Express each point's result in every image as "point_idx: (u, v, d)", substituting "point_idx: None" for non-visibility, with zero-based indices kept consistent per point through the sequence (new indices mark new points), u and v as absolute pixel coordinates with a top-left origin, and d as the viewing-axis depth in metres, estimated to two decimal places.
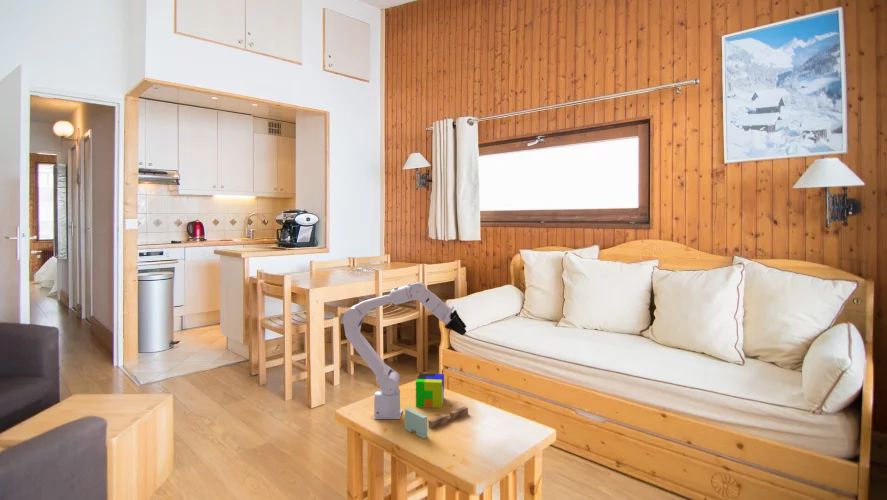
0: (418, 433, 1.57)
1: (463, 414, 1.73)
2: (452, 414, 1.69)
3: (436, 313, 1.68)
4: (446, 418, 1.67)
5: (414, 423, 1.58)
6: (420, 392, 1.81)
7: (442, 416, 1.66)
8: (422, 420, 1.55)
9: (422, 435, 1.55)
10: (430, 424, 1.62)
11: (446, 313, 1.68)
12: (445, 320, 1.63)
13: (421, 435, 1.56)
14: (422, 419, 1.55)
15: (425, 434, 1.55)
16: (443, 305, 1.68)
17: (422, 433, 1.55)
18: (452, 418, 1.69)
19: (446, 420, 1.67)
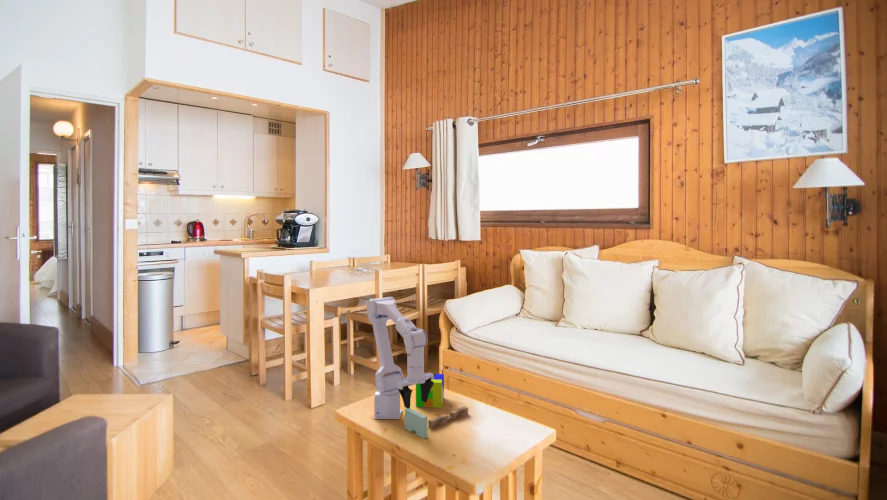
0: (418, 433, 1.57)
1: (463, 414, 1.73)
2: (452, 414, 1.69)
3: (407, 369, 1.57)
4: (446, 418, 1.67)
5: (414, 423, 1.58)
6: (420, 392, 1.81)
7: (442, 416, 1.66)
8: (422, 420, 1.55)
9: (422, 435, 1.55)
10: (430, 424, 1.62)
11: (411, 379, 1.56)
12: (398, 384, 1.53)
13: (421, 435, 1.56)
14: (422, 419, 1.55)
15: (425, 434, 1.55)
16: (416, 372, 1.55)
17: (422, 433, 1.55)
18: (452, 418, 1.69)
19: (446, 420, 1.67)
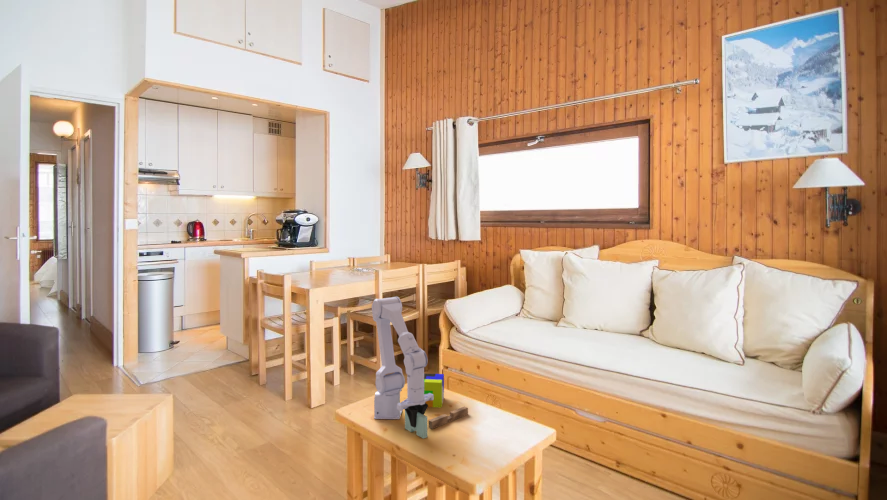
0: (418, 433, 1.57)
1: (463, 414, 1.73)
2: (452, 414, 1.69)
3: (407, 390, 1.58)
4: (446, 418, 1.67)
5: None
6: None
7: (442, 416, 1.66)
8: (422, 420, 1.55)
9: (422, 435, 1.55)
10: (430, 424, 1.62)
11: (411, 401, 1.56)
12: (398, 406, 1.54)
13: (421, 435, 1.56)
14: (422, 419, 1.55)
15: (425, 433, 1.55)
16: (416, 393, 1.56)
17: (422, 433, 1.55)
18: (452, 418, 1.69)
19: (446, 420, 1.67)
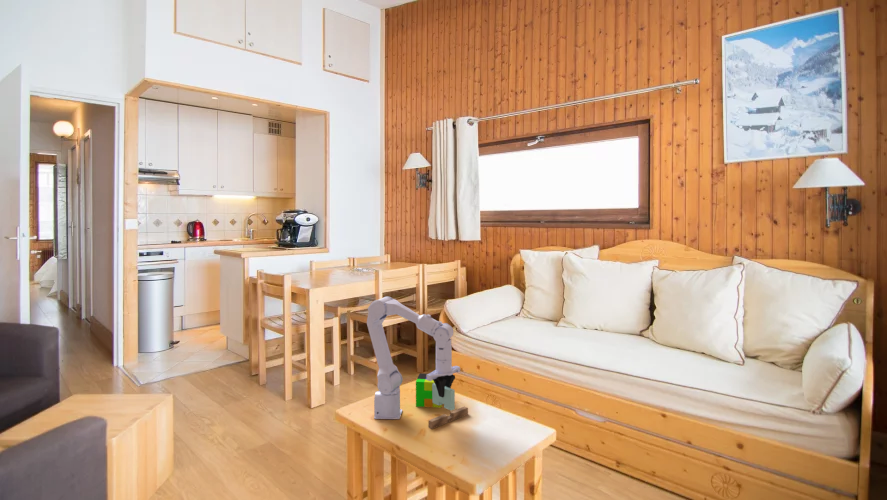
0: (446, 406, 1.64)
1: (463, 414, 1.73)
2: (452, 414, 1.69)
3: None
4: (446, 418, 1.67)
5: (442, 397, 1.66)
6: (420, 392, 1.81)
7: (442, 416, 1.66)
8: (449, 393, 1.63)
9: (450, 407, 1.63)
10: (430, 424, 1.62)
11: (439, 371, 1.63)
12: (427, 376, 1.61)
13: (449, 407, 1.63)
14: (450, 392, 1.63)
15: (452, 406, 1.63)
16: (444, 364, 1.63)
17: (450, 405, 1.63)
18: (452, 418, 1.69)
19: (446, 420, 1.67)
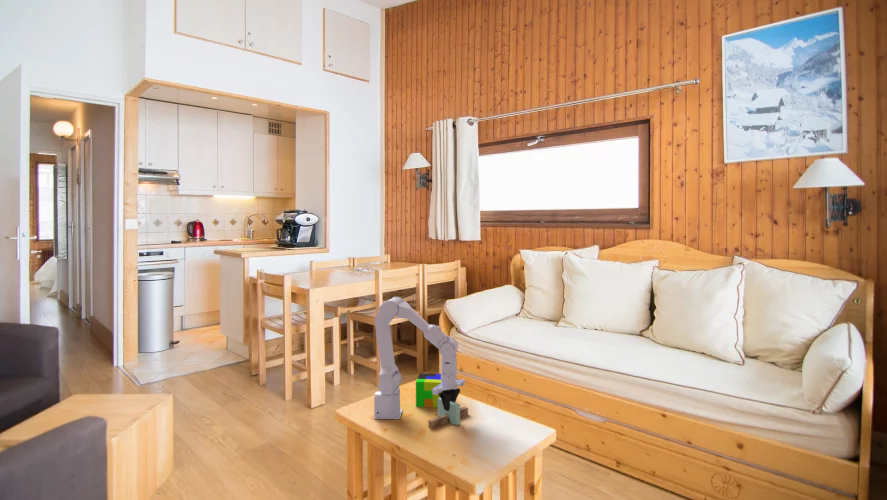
0: (451, 420, 1.66)
1: (463, 414, 1.73)
2: None
3: (441, 376, 1.67)
4: (446, 418, 1.67)
5: (447, 411, 1.68)
6: (420, 392, 1.81)
7: (442, 416, 1.66)
8: (455, 408, 1.65)
9: (455, 422, 1.65)
10: (430, 424, 1.62)
11: (445, 385, 1.65)
12: (433, 390, 1.63)
13: (454, 422, 1.65)
14: (455, 407, 1.65)
15: (458, 421, 1.65)
16: (449, 378, 1.65)
17: (455, 420, 1.65)
18: None
19: (446, 420, 1.67)
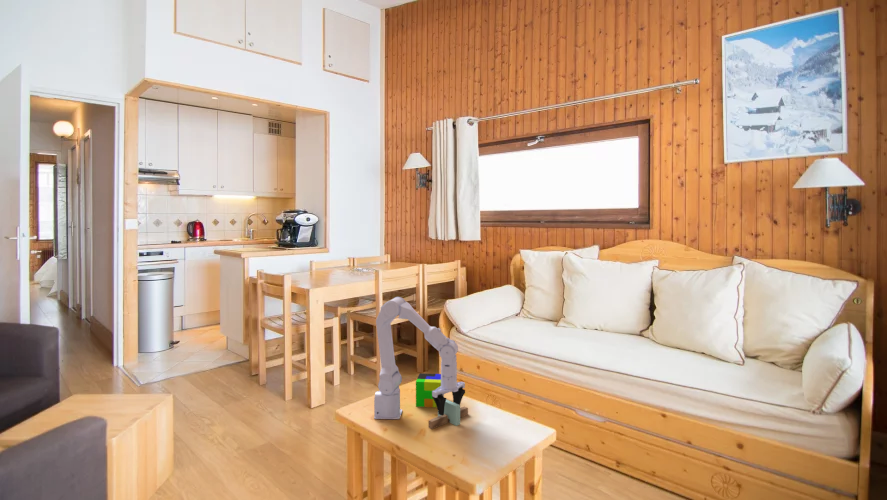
0: (451, 421, 1.66)
1: (463, 414, 1.73)
2: None
3: (441, 378, 1.67)
4: (446, 418, 1.67)
5: (448, 412, 1.68)
6: (420, 392, 1.81)
7: (442, 416, 1.66)
8: (455, 408, 1.65)
9: (455, 422, 1.65)
10: (430, 424, 1.62)
11: (445, 388, 1.65)
12: (433, 393, 1.63)
13: (454, 422, 1.65)
14: (455, 407, 1.65)
15: (458, 421, 1.65)
16: (449, 381, 1.65)
17: (455, 421, 1.65)
18: None
19: (446, 420, 1.67)
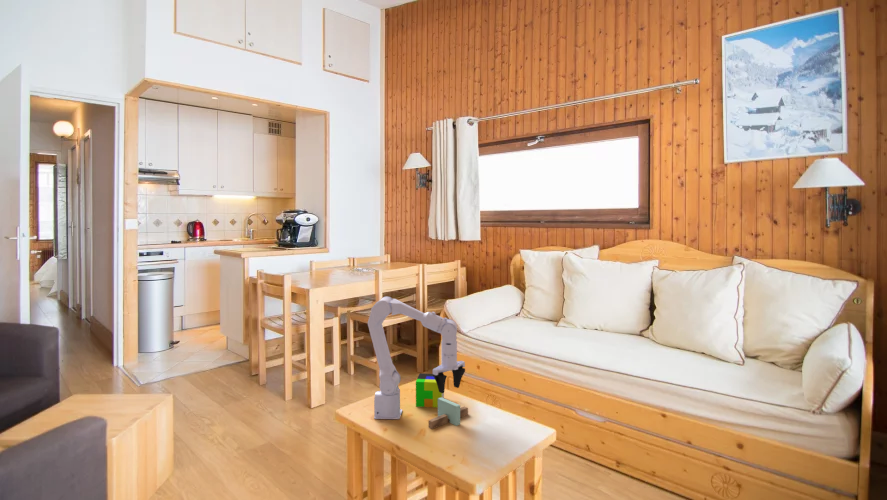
0: (451, 421, 1.66)
1: (463, 414, 1.73)
2: None
3: (441, 357, 1.70)
4: (446, 418, 1.67)
5: (448, 412, 1.68)
6: (420, 392, 1.81)
7: (442, 416, 1.66)
8: (455, 408, 1.65)
9: (455, 422, 1.65)
10: (430, 424, 1.62)
11: (445, 366, 1.68)
12: (433, 370, 1.66)
13: (454, 422, 1.65)
14: (455, 407, 1.65)
15: (458, 421, 1.65)
16: (450, 359, 1.68)
17: (455, 421, 1.65)
18: None
19: (446, 420, 1.67)
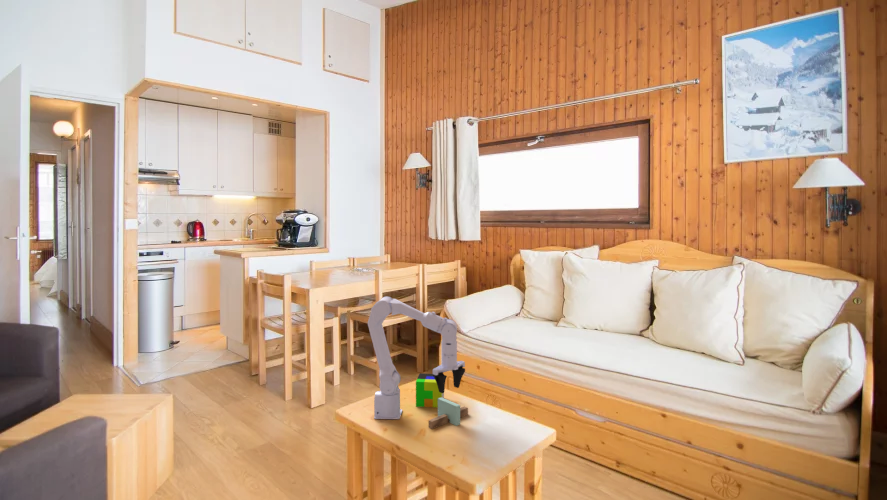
0: (451, 421, 1.66)
1: (463, 414, 1.73)
2: None
3: (441, 357, 1.70)
4: (446, 418, 1.67)
5: (448, 412, 1.68)
6: (420, 392, 1.81)
7: (442, 416, 1.66)
8: (455, 408, 1.65)
9: (455, 422, 1.65)
10: (430, 424, 1.62)
11: (445, 366, 1.68)
12: (433, 370, 1.66)
13: (454, 422, 1.65)
14: (455, 407, 1.65)
15: (458, 421, 1.65)
16: (450, 359, 1.68)
17: (455, 421, 1.65)
18: None
19: (446, 420, 1.67)
